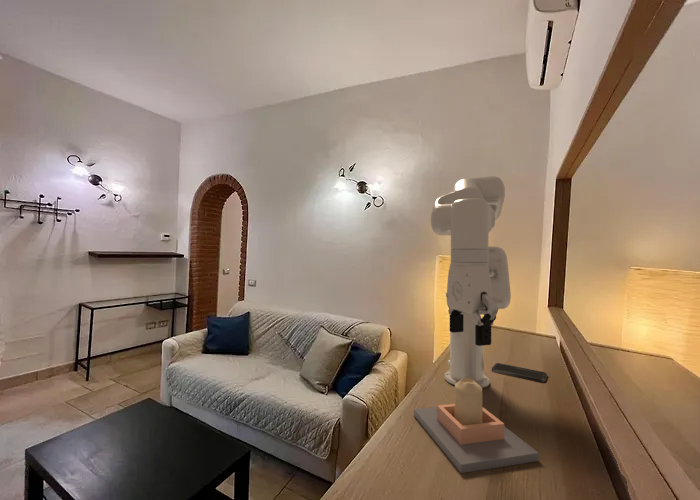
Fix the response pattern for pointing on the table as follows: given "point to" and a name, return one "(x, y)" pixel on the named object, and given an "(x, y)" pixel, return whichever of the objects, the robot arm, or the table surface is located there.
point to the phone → (520, 372)
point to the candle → (468, 402)
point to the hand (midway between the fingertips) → (468, 338)
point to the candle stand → (474, 440)
